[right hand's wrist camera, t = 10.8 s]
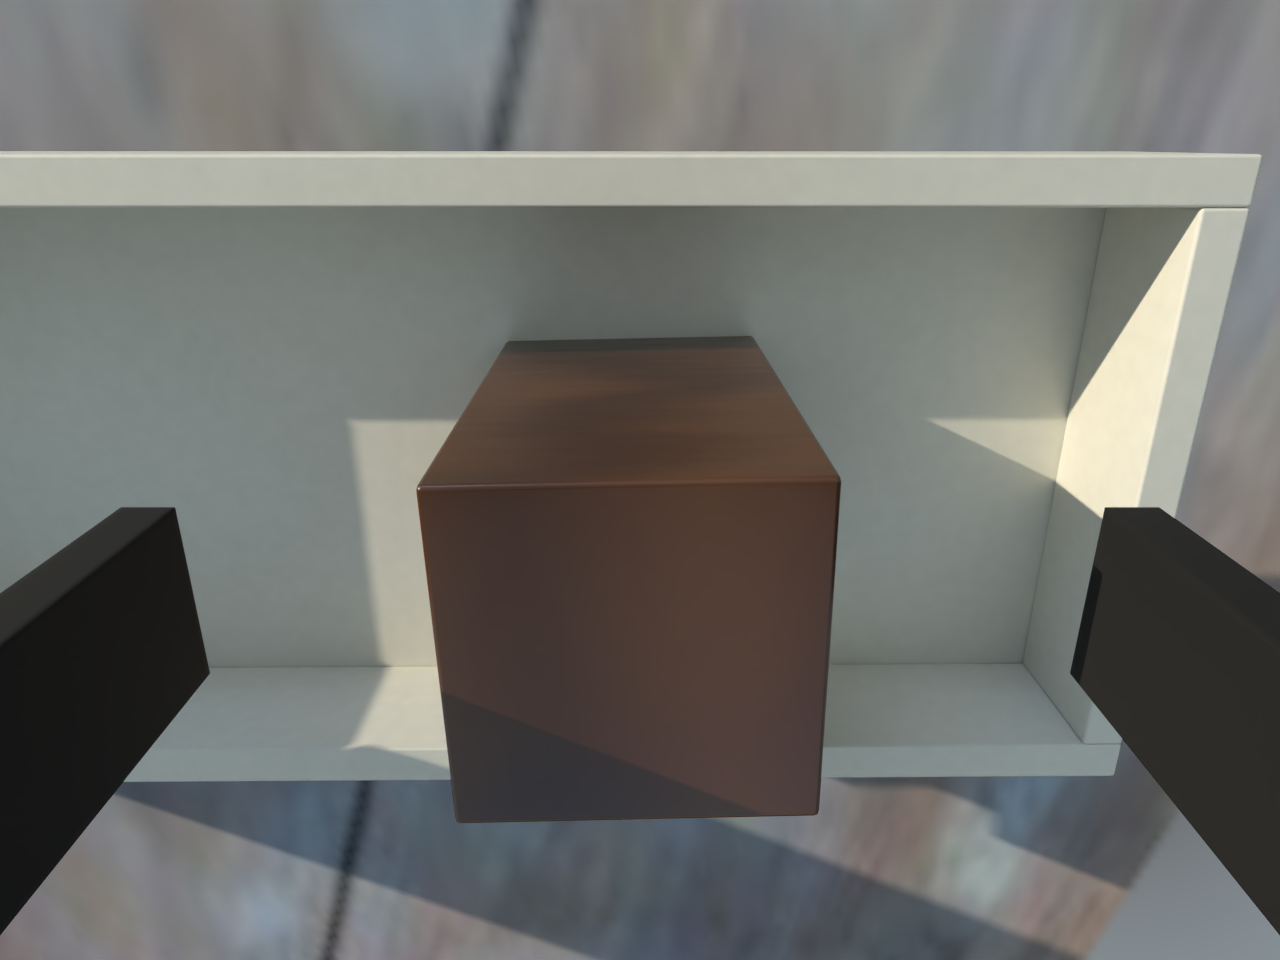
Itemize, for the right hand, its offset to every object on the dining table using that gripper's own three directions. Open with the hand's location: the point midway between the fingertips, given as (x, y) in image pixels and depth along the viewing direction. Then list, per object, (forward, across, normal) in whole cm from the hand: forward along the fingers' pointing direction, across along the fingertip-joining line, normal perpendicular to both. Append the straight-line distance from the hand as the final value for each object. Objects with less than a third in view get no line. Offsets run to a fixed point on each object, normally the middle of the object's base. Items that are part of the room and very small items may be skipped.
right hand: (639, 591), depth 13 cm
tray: (+7, +8, 0) cm, 11 cm away
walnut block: (+6, 0, 0) cm, 6 cm away
